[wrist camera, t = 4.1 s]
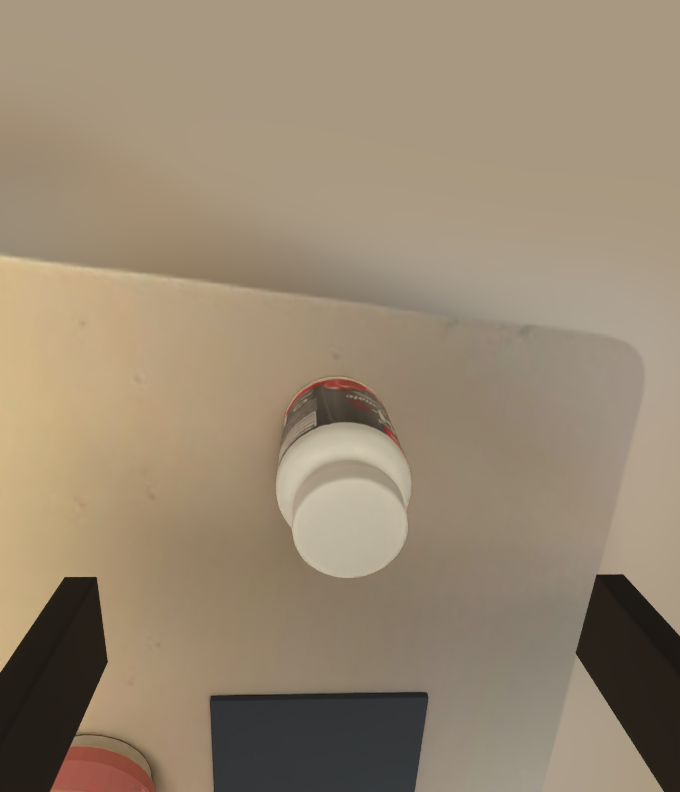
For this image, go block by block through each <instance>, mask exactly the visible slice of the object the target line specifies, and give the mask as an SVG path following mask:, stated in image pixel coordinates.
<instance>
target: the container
mask: <svg viewBox="0 0 680 792" xmlns="http://www.w3.org/2000/svg"><path fill="white" fill-rule="evenodd" d="M50 792H155V788H154V785H153V782H152V780H151V770H150V767H149V764H148V763H147V761H146V760H145V758H144V757H143V756H142V755H141V754H140V753H139V752H138V751H137V750H135V749H134V748H132V747H131V746H129V745H128V744H125V743H123V742H121V741H119V740H116V739H112V738H109V737H103V736H96V735H82V736H75V737H74V739H73V741H72V744H71V746H70V748H69V750H68V753H67V755H66V757H65V759H64V761H63V764H62V766H61V768H60V770H59V773H58V775H57V777H56V779H55V782H54V784H53V786H52V788H51V791H50Z"/></svg>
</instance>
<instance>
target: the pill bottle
mask: <svg viewBox="0 0 680 792" xmlns="http://www.w3.org/2000/svg"><path fill="white" fill-rule="evenodd" d="M411 489H412V482H411V474H410V469H409V466H408V463H407V460H406V457H405V455H404V452H403V450H402V448H401V446H400V443H399V441H398V438H397V436H396V434H395V432H394V428H393V426H392V424H391V421H390V419H389V417H388V415H387V412H386V410H385V408H384V405H383V403H382V402H381V400H380V398H379V397H378V396H377V394H376V393H375V392H374V391H373V390H372V389H371V388H369V387H368V386H367V385H365V384H364V383H362V382H360V381H357V380H355V379H352V378H348V377H340V376H334V377H325V378H321V379H318V380H315V381H313V382H311V383H310V384H308V385H306V386H305V387H304V388H302V389H301V390H300V391H299V392H298V393H297V394H296V395H295V396H294V397H293V399H292V401H291V402H290V404H289V406H288V408H287V411H286V414H285V419H284V424H283V431H282V440H281V448H280V455H279V462H278V470H277V475H276V496H277V501H278V505H279V508H280V511H281V513H282V515H283V517H284V519H285V520H286V522H287V523H288V524H289V525H290V527H291V528H292V534H293V540H294V543H295V546H296V548H297V550H298V552H299V554H300V555H301V556H302V558H303V559H304V560H305V561H306V562H307V563H308V564H309V565H311V566H312V567H313V568H315V569H316V570H318V571H320V572H322V573H324V574H327V575H330V576H334V577H340V578H357V577H362V576H366V575H369V574H372V573H374V572H377V571H378V570H380V569H382V568H384V567H385V566H386V565H388V564H389V563H390V562H391V561H392V560H393V559H394V558H395V557H396V556H397V555H398V554H399V552H400V551H401V549H402V547H403V545H404V543H405V540H406V537H407V532H408V518H407V513H406V509H407V507H408V504H409V501H410V497H411Z"/></svg>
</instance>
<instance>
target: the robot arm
mask: <svg viewBox="0 0 680 792" xmlns="http://www.w3.org/2000/svg"><path fill="white" fill-rule="evenodd" d="M576 654H577V656H578V658H579V659H580V661H581V662H582V664H583V665H584V667H585V668H586V670H587V672H588V673H589V675H590V676H591V678H592V679H593V681H594V682H595V684H596V686H597V687H598V689H599V690H600V692H601V694H602V695H603V697H604V698H605V700H606V701H607V703H608V705H609V706H610V708H611V709H612V711H613V712H614V714H615V715H616V717H617V719H618V720H619V722H620V723H621V725H622V727H623V728H624V729H625V731H626V733H627V734H628V736H629V737H630V739H631V741H632V742H633V744H634V745H635V747H636V748H637V750H638V751H639V753H640V754H641V756H642V758H643V759H644V761H645V763H646V764H647V766H648V767H649V769H650V770H651V772H652V774H653V775H654V777H655V778H656V780H657V781H658V783H659V784H660V786H661V788H662V789H663V791H664V792H680V636H679V635H678V634H677V633H676V632H675V630H674V629H673V628H672V627H671V626H670V625H669V624H668V623H667V622H666V621H665V620H664V618H663V617H662V616H661V615H660V614H659V613H658V612H657V611H656V610H655V609H654V608H653V606H652V605H651V604H650V603H649V602H648V601H647V600H646V599H645V598H644V597H643V596H642V595H641V593H640V592H639V591H638V590H637V589H636V588H635V587H634V586H633V585H632V584H631V583H630V581H629V580H628V579H627V578H626V577H625V576H624V575H621V574H620V575H596V579H595V583H594V586H593V590H592V594H591V598H590V601H589V605H588V609H587V613H586V616H585V620H584V624H583V628H582V632H581V635H580V639H579V643H578V647H577V650H576ZM107 663H108V660H107V653H106V645H105V637H104V630H103V622H102V614H101V606H100V599H99V591H98V583H97V577H65V578H64V579H63V581H62V582H61V584H60V585H59V587H58V588H57V590H56V591H55V592H54V594H53V595H52V597H51V598H50V600H49V601H48V603H47V604H46V606H45V607H44V609H43V610H42V612H41V613H40V615H39V616H38V618H37V619H36V621H35V622H34V624H33V625H32V627H31V628H30V630H29V631H28V633H27V634H26V636H25V637H24V638H23V640H22V641H21V643H20V644H19V646H18V647H17V649H16V650H15V652H14V653H13V655H12V656H11V658H10V659H9V661H8V662H7V664H6V665H5V667H4V668H3V670H2V671H1V673H0V792H50V791H51V788H52V786H53V784H54V782H55V779H56V777H57V775H58V773H59V770H60V768H61V766H62V764H63V761H64V759H65V757H66V755H67V753H68V750H69V748H70V746H71V744H72V741H73V739H74V737H75V735H76V732H77V730H78V728H79V726H80V723H81V721H82V719H83V717H84V714H85V712H86V710H87V708H88V705H89V703H90V701H91V699H92V696H93V694H94V692H95V690H96V687H97V685H98V683H99V681H100V678H101V676H102V674H103V672H104V669H105V667H106V665H107Z"/></svg>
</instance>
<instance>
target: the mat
mask: <svg viewBox="0 0 680 792" xmlns="http://www.w3.org/2000/svg"><path fill="white" fill-rule="evenodd" d="M427 703H428V694H427V693H374V694H314V695H254V696H211V700H210V708H211V730H212V752H213V775H214V792H414V791H415V785H416V778H417V771H418V764H419V757H420V751H421V744H422V737H423V730H424V724H425V717H426V710H427Z"/></svg>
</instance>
